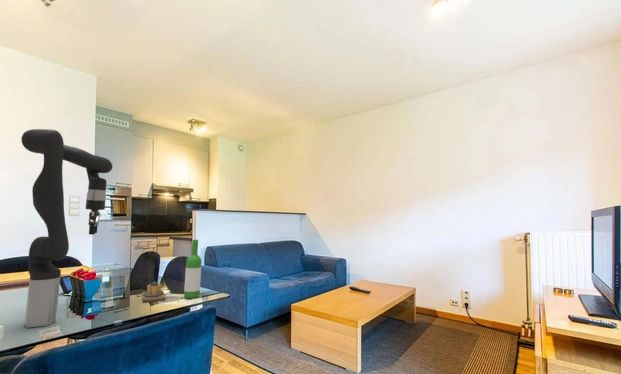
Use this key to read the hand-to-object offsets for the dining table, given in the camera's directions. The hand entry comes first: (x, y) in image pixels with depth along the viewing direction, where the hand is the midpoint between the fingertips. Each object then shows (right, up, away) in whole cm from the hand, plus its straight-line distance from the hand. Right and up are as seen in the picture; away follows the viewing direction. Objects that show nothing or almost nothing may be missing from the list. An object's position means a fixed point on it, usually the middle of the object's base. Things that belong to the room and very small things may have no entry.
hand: (92, 233), depth 146 cm
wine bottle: (+40, -36, +17) cm, 57 cm away
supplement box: (-6, -34, +5) cm, 35 cm away
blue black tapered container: (-21, -35, +20) cm, 45 cm away
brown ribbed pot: (+22, -33, +14) cm, 42 cm away
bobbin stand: (+22, -35, +13) cm, 43 cm away
